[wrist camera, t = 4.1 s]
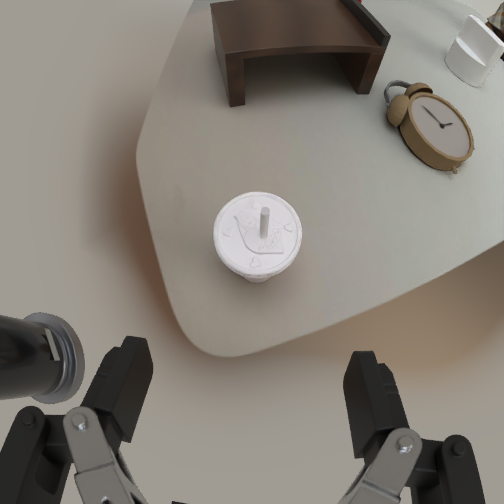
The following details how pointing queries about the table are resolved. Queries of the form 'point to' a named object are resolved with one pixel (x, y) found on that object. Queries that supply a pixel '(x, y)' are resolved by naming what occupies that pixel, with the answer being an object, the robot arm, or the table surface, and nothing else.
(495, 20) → the plaid figurine
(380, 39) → the shelf
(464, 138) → the alarm clock
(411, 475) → the robot arm
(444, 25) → the table surface
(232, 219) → the smoothie
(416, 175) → the table surface
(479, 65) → the cylinder with rectangular tab
